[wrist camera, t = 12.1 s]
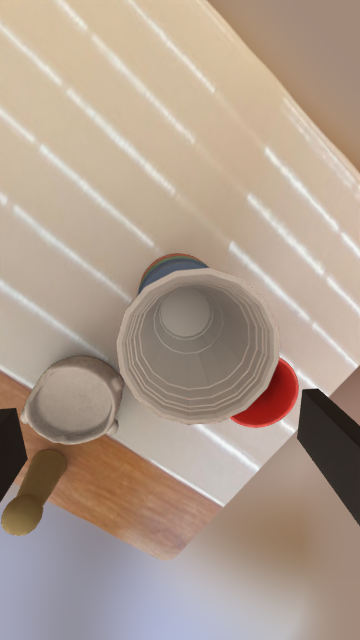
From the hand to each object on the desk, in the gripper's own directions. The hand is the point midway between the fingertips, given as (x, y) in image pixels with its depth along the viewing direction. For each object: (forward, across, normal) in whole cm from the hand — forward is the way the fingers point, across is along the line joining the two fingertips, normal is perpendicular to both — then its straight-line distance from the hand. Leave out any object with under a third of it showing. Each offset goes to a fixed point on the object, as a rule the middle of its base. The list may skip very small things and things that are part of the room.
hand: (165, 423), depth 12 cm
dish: (+29, -14, -15) cm, 35 cm away
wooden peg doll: (+29, -21, -29) cm, 46 cm away
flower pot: (+29, +12, -11) cm, 33 cm away
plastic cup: (+17, +2, +1) cm, 17 cm away
